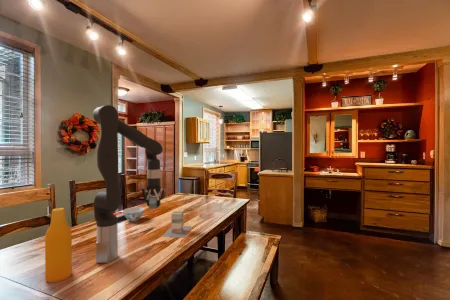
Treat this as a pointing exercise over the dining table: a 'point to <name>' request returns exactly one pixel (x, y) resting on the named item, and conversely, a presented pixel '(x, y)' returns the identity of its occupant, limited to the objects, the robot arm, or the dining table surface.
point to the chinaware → (133, 213)
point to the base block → (177, 227)
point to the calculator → (120, 216)
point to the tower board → (182, 234)
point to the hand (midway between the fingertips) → (153, 206)
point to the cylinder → (153, 202)
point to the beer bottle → (58, 248)
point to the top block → (178, 217)
